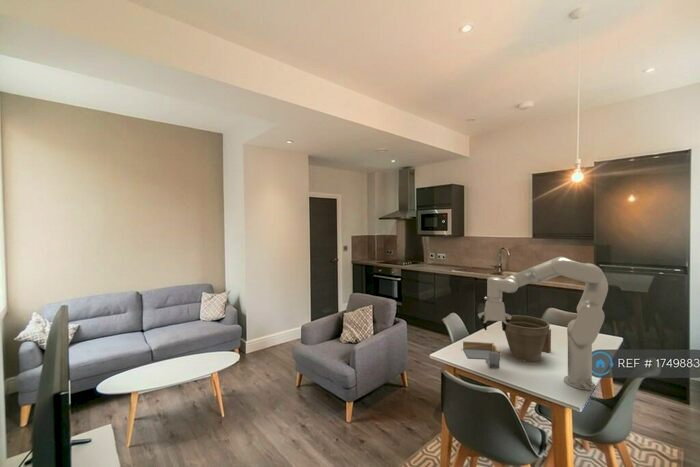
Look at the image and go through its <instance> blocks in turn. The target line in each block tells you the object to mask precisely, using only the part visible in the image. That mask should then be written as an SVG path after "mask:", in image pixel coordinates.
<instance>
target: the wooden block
mask: <svg viewBox="0 0 700 467" xmlns="http://www.w3.org/2000/svg"><path fill="white" fill-rule="evenodd" d="M542 352H543V353H544V352H545V353H551V352H552V329H550V328H549V333H548V334H547V336H546V340H545V343H544V346H543V350H542Z"/></svg>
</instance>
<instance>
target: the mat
mask: <svg viewBox="0 0 700 467" xmlns="http://www.w3.org/2000/svg"><path fill="white" fill-rule="evenodd" d="M463 351H464V353H465V355H466V358H467V359H468V360H469V359H473V360H485V361H486V358H489V352H492V351H491V350H473V349H464V350H463ZM499 361H501V358H500V359H499Z"/></svg>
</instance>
